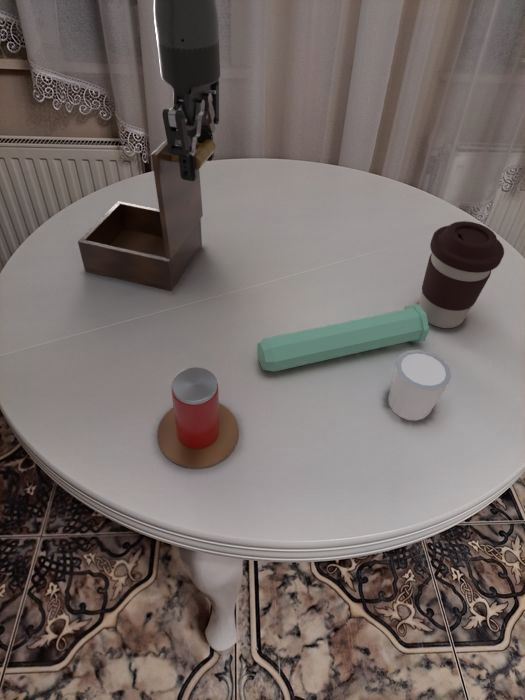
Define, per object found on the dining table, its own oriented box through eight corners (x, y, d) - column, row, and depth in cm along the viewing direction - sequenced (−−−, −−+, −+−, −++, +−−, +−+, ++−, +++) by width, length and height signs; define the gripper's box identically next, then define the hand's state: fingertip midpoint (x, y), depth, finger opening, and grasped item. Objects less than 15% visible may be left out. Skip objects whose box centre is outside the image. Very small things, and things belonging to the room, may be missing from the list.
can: (175, 449, 61) (169, 402, 54) (178, 414, 64) (172, 366, 58) (219, 448, 61) (218, 401, 55) (219, 414, 65) (218, 366, 58)
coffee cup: (480, 310, 83) (517, 230, 72) (459, 344, 77) (497, 263, 66) (422, 286, 86) (450, 207, 76) (399, 318, 80) (425, 236, 70)
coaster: (154, 470, 59) (153, 467, 59) (160, 402, 66) (160, 399, 66) (240, 467, 60) (240, 464, 60) (237, 401, 67) (237, 398, 67)
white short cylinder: (445, 412, 68) (463, 377, 63) (406, 432, 65) (421, 397, 60) (411, 377, 72) (424, 342, 67) (373, 395, 69) (384, 360, 64)
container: (262, 345, 66) (430, 310, 72) (249, 330, 71) (407, 298, 77) (266, 385, 68) (428, 348, 74) (253, 367, 74) (406, 334, 79)
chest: (84, 271, 85) (77, 241, 81) (123, 229, 94) (118, 200, 90) (171, 291, 82) (168, 261, 78) (202, 246, 92) (200, 217, 87)
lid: (151, 154, 66) (188, 159, 65) (190, 116, 76) (224, 120, 75) (166, 258, 78) (198, 265, 77) (198, 215, 87) (227, 220, 86)
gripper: (194, 57, 56) (204, 196, 68) (236, 25, 66) (238, 151, 78) (132, 50, 57) (153, 188, 69) (182, 19, 67) (192, 145, 79)
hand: (198, 168), depth 74 cm, fingers closed on lid, 6 cm apart
